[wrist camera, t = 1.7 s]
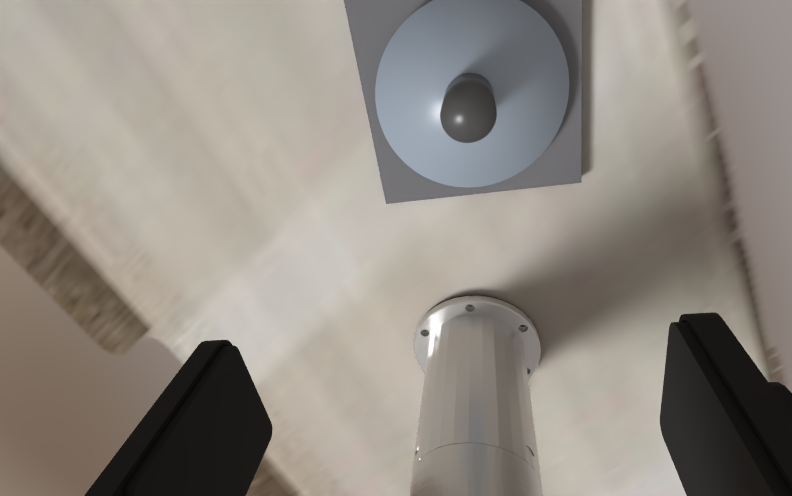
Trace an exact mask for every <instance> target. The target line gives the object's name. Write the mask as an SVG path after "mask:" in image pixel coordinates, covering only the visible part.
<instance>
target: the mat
mask: <svg viewBox="0 0 792 496" xmlns="http://www.w3.org/2000/svg"><path fill="white" fill-rule="evenodd" d="M431 1H432V0H344V3H345V8H346V12H347V17H348V22H349V27H350V32H351V36H352V41H353V46H354V51H355V56H356V60H357V65H358V70H359V75H360V80H361V85H362V89H363V94H364V99H365V104H366V109H367V113H368V118H369V123H370V128H371V133H372V138H373V142H374V147H375V152H376V157H377V162H378V166H379V171H380V176H381V181H382V186H383V191H384V195H385V200H386V204H389V203H398V202H407V201H416V200H425V199H434V198H444V197H453V196H462V195H471V194H480V193H489V192H499V191H508V190H517V189H526V188H535V187H544V186H554V185H563V184H572V183H581V142H582V0H520V1H522V2H524V3H526V4H527V5H528V6H530V7H531V8H532V9H534V10H535V11H537V12H538V13H539V14H540V15H541V16H542V17H543V18H544V19H545V20H546V21H547V23H548V24H549V25H550V27H551V28H552V29H553V31H554V32H555V34H556V36H557V38H558V39H559V41H560V43H561V46H562V48H563V51H564V54H565V56H566V61H567V66H568V72H569V97H568V102H567V108H566V111H565V114H564V117H563V121H562V123H561V125H560V127H559V129H558V132H557V134H556V135H555V137H554V138H553V140H552V142H551V143H550V145H549V146H548V147H547V148H546V150H545V151H544V152H543V153H542V155H540V156H539V157H538V158H537V159H536V160H535V161H534V162H533V163H532V164H531V165H529V166H528V167H527V168H526V169H524V170H523V171H521V172H519V173H518V174H516V175H514V176H513V177H510V178H508V179H506V180H504V181H501V182H498V183H495V184H491V185H487V186H481V187H468V188H466V187H454V186H449V185H444V184H441V183H438V182H435V181H432V180H430V179H428V178H426V177H424V176H422V175H420V174H419V173H417V172H416V171H414V170H413V169H411V168H410V167H409V166H408V165H407V164H405V163H404V162H403V161H402V160H401V159H400V157H399V156H398V155H397V154H396V153H395V151H394V150H393V149H392V147H391V146H390V144H389V142H388V141H387V139H386V137H385V135H384V133H383V130H382V128H381V125H380V122H379V118H378V115H377V109H376V102H375V86H376V77H377V72H378V68H379V64H380V61H381V58H382V56H383V53H384V51H385V49H386V47H387V45H388V43H389V41H390V39H391V38H392V36H393V35H394V34H395V32H396V31H397V29H398V28H399V27H400V26H401V25H402V24H403V23H404V22H405V20H406V19H407V18H408V17H409V16H411V15H412V14H413V13H414V12H416V11H417V10H418V9H419V8H421V7H422V6H424V5H426V4H427V3H429V2H431Z"/></svg>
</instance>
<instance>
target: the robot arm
mask: <svg viewBox="0 0 792 496" xmlns="http://www.w3.org/2000/svg"><path fill="white" fill-rule="evenodd" d="M414 353H415V358H416V360H417V363H418V365H419V367H420V368H421V369H422V371H423V372H424V374H425V378H424V386H423V393H422V401H421V409H420V416H419V424H418V432H417V439H416V447H415V455H414V462H413V470H412V478H411V486H410V496H543V490H542V483H541V475H540V467H539V459H538V451H537V444H536V436H535V428H534V420H533V413H532V405H531V397H530V389H529V381H528V379H529V378H530V377H531V376H532V374H533V373H534V371H535V370H536V368H537V366H538V363H539V360H540V353H541V347H540V340H539V336H538V333H537V330H536V328H535V326H534V325H533V323H532V321H531V320H530V319H529V318H528V317H527V316H526V315H525V314H524V313H523V312H522V311H520V310H519V309H518V308H516V307H515V306H513V305H511V304H509V303H507V302H505V301H502V300H499V299H495V298H492V297H485V296H463V297H458V298H453V299H450V300H448V301H445V302H442V303H441V304H439V305H437V306H435V307H434V308H432V309H431V310H430V311H429V312H428V313H427V314H426V315H425V316H424V317H423V318H422V320H421V321H420V323H419V325H418V327H417V330H416V333H415V338H414ZM660 426H661V431H662V435H663V438H664V441H665V443H666V446H667V448H668V450H669V453H670V455H671V458H672V460H673V463H674V465H675V468H676V470H677V473H678V475H679V478H680V480H681V482H682V485H683V487H684V490H685V492H686V495H687V496H792V393H791V392H790V391H789V390H788V389H787V388H786V387H785V386H784V385H782V384H780V383H779V382H768V381H767V380H766V379H765V377H764V376H763V374H762V373H761V372H760V370H759V369H758V368H757V366H756V365H755V363H754V362H753V361H752V359H751V358H750V356H749V355H748V354H747V352H746V351H745V350H744V348H743V347H742V345H741V344H740V343H739V341H738V340H737V338H736V337H735V336H734V334H733V333H732V331H731V330H730V329H729V327H728V326H727V325H726V323H725V322H724V320H723V319H722V318H721V316H720V315H719V314H717V313H697V314H683V315H681V317H680V319H679V322H673V323H671V324H670V327H669V336H668V345H667V355H666V365H665V374H664V384H663V394H662V403H661V413H660ZM271 436H272V424H271V421H270V419H269V417H268V414H267V412H266V410H265V408H264V405H263V403H262V401H261V399H260V396H259V394H258V392H257V390H256V388H255V385H254V383H253V381H252V379H251V376H250V374H249V372H248V370H247V367H246V365H245V363H244V361H243V358H242V356H241V354H240V352H239V350H238V348H237V347H236V346H233V345H232V344H231V342H229V341H228V340H214V341H204V342H201V343H200V344H199V345H198V347H197V348H196V349H195V351H194V352H193V353H192V355H191V356H190V357H189V358H188V360H187V361H186V362H185V364H184V365H183V366H182V368H181V369H180V370H179V372H178V373H177V374H176V376H175V377H174V378H173V380H172V381H171V382H170V384H169V385H168V386H167V388H166V389H165V390H164V392H163V393H162V394H161V395H160V397H159V398H158V399H157V401H156V402H155V403H154V405H153V406H152V407H151V409H150V410H149V411H148V413H147V414H146V415H145V416H144V418H143V419H142V421H141V422H140V423H139V424H138V426H137V427H136V428H135V430H134V431H133V432H132V434H131V435H130V436H129V438H128V439H127V440H126V442H125V443H124V444H123V445H122V447H121V448H120V449H119V451H118V452H117V453H116V455H115V456H114V457H113V459H112V460H111V461H110V463H109V464H108V465H107V467H106V468H105V469H104V471H103V472H102V473H101V474H100V476H99V477H98V478H97V480H96V481H95V482H94V484H93V485H92V486H91V488H90V489H89V490H88V492H87V493H86V494H85V496H246V493H247V491H248V489H249V487H250V484H251V482H252V480H253V478H254V475H255V473H256V471H257V469H258V467H259V464H260V462H261V460H262V458H263V455H264V453H265V451H266V449H267V446H268V444H269V442H270V440H271Z"/></svg>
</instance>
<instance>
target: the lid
mask: <svg viewBox="0 0 792 496" xmlns="http://www.w3.org/2000/svg"><path fill="white" fill-rule="evenodd" d="M568 97H569V72H568V66H567V61H566V56H565V54H564V51H563V48H562V46H561V43H560V41H559V39H558V38H557V36H556V34H555V32H554V31H553V29H552V28H551V27H550V25H549V24H548V23H547V21H546V20H545V19H544V18H543V17H542V16H541V15H540V14H539V13H538V12H537V11H535V10H534V9H532V8H531V7H530V6H528V5H527V4H526V3H524V2H522V1H520V0H432V1H431V2H429V3H427V4H426V5H424V6H422V7H421V8H419V9H418V10H417V11H416V12H414V13H413V14H412V15H411V16H409V17H408V18H407V19H406V20H405V22H404V23H403V24H402V25H401V26H400V27H399V28H398V29H397V31H396V32H395V34H394V35H393V36H392V38H391V39H390V41H389V43H388V45H387V47H386V49H385V51H384V53H383V56H382V58H381V61H380V64H379V68H378V72H377V77H376V86H375V102H376V109H377V115H378V118H379V122H380V125H381V128H382V130H383V133H384V135H385V137H386V139H387V141H388V142H389V144H390V146H391V147H392V149H393V150H394V151H395V153H396V154H397V155H398V156H399V157H400V159H401V160H402V161H403V162H404V163H405V164H407V165H408V166H409V167H410V168H411V169H413V170H414V171H416V172H417V173H419V174H420V175H422V176H424V177H426V178H428V179H430V180H432V181H435V182H438V183H441V184H444V185H449V186H454V187H466V188H468V187H481V186H487V185H491V184H495V183H498V182H501V181H504V180H506V179H508V178H510V177H513V176H514V175H516V174H518V173H519V172H521V171H523V170H524V169H526V168H527V167H528V166H529V165H531V164H532V163H533V162H534V161H535V160H536V159H537V158H538V157H539V156H540V155H542V153H543V152H544V151H545V150H546V148H547V147H548V146H549V145H550V143H551V142H552V140H553V138H554V137H555V135H556V134H557V132H558V129H559V127H560V125H561V123H562V121H563V117H564V114H565V111H566V108H567V102H568Z"/></svg>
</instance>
